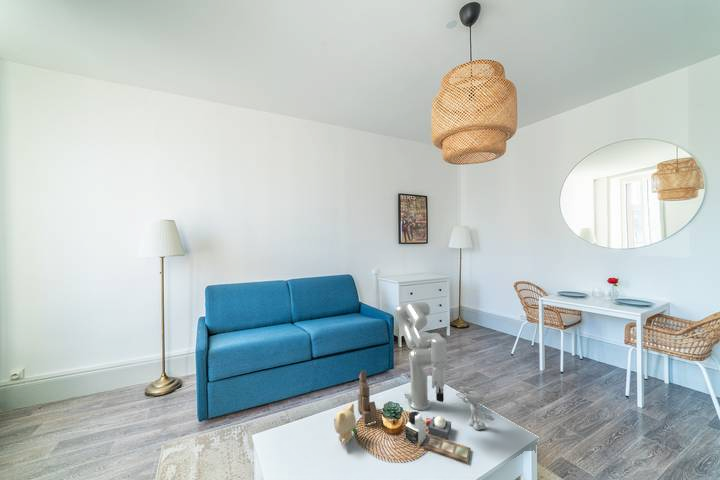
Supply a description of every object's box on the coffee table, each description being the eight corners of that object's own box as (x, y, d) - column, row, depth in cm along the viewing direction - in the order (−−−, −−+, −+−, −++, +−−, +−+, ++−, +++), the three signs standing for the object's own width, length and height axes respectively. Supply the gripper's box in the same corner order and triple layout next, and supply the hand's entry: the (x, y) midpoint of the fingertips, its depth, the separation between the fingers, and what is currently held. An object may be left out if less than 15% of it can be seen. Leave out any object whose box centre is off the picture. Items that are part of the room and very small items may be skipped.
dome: (433, 428, 137) (433, 418, 137) (435, 422, 142) (435, 412, 142) (444, 432, 134) (444, 421, 134) (446, 425, 139) (446, 415, 139)
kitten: (347, 426, 143) (346, 396, 143) (363, 433, 137) (362, 402, 138) (327, 443, 131) (327, 411, 131) (344, 452, 125) (343, 418, 125)
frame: (400, 442, 131) (400, 441, 131) (408, 428, 140) (408, 428, 140) (423, 450, 125) (423, 449, 125) (430, 435, 135) (430, 435, 135)
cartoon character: (501, 440, 131) (500, 399, 131) (482, 446, 127) (481, 403, 127) (465, 410, 155) (465, 375, 155) (448, 415, 151) (447, 378, 151)
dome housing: (428, 434, 136) (428, 426, 136) (433, 423, 144) (433, 416, 144) (447, 440, 132) (447, 432, 132) (451, 428, 140) (451, 421, 140)
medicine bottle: (405, 439, 133) (404, 414, 133) (413, 432, 138) (412, 407, 138) (418, 447, 128) (417, 420, 128) (426, 438, 133) (425, 413, 133)
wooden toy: (377, 423, 145) (376, 375, 145) (364, 426, 143) (364, 377, 143) (368, 407, 160) (368, 363, 160) (357, 409, 158) (356, 364, 158)
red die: (426, 426, 142) (426, 421, 142) (426, 423, 144) (426, 417, 144) (432, 427, 141) (431, 421, 141) (432, 424, 144) (431, 418, 144)
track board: (425, 449, 126) (425, 446, 126) (430, 437, 134) (430, 434, 134) (467, 464, 117) (467, 461, 117) (470, 450, 125) (470, 447, 125)
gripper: (435, 356, 147) (436, 391, 146) (427, 367, 134) (428, 406, 133) (449, 359, 143) (450, 395, 143) (443, 370, 130) (444, 410, 129)
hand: (440, 400), depth 138 cm, fingers closed
